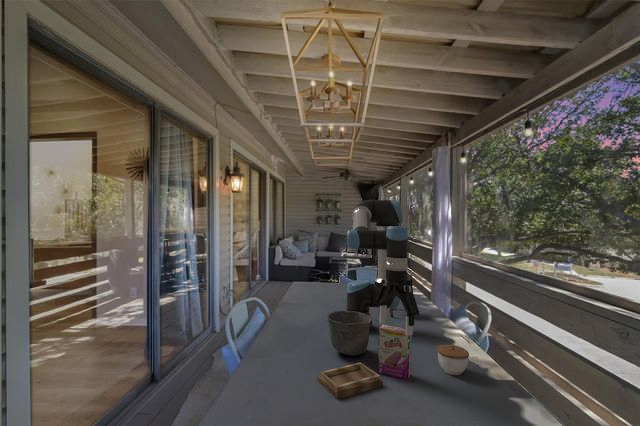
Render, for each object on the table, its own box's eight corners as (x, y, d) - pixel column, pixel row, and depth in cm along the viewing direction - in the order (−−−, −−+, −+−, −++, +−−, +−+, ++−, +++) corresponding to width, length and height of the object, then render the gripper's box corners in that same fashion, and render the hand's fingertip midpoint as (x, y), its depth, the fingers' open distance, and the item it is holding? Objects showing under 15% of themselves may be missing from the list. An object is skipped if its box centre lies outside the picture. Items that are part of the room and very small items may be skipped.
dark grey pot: (340, 366, 121) (341, 326, 121) (319, 348, 137) (319, 313, 137) (378, 357, 129) (379, 320, 129) (354, 342, 145) (355, 308, 145)
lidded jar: (433, 364, 125) (433, 339, 125) (461, 365, 125) (461, 340, 125) (442, 377, 114) (443, 351, 114) (473, 379, 114) (474, 352, 114)
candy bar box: (377, 373, 116) (378, 327, 116) (380, 367, 121) (381, 323, 121) (408, 380, 112) (410, 333, 112) (411, 374, 116) (412, 328, 116)
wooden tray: (359, 369, 119) (359, 360, 119) (382, 385, 108) (383, 376, 108) (316, 380, 110) (316, 371, 110) (337, 399, 99) (337, 389, 99)
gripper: (366, 264, 125) (365, 320, 125) (414, 275, 104) (413, 342, 103) (381, 264, 129) (380, 317, 129) (431, 274, 107) (430, 338, 107)
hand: (395, 328), depth 116 cm, fingers open, 13 cm apart
